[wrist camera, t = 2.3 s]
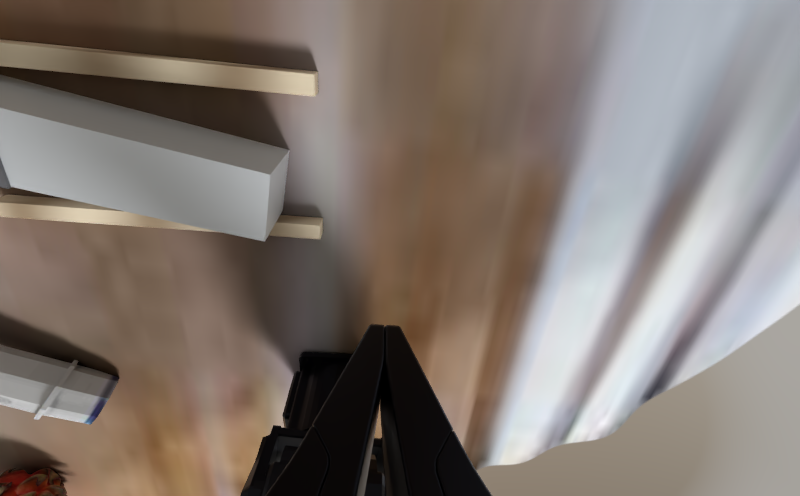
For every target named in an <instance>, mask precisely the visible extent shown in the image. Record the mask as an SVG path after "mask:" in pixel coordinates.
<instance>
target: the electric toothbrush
mask: <svg viewBox="0 0 800 496" xmlns="http://www.w3.org/2000/svg"><path fill="white" fill-rule="evenodd" d="M78 362H79V361H77V360H74V361H73V362H72V363H68V362H64V361H60V360H57V359H53V358H49V357H45V356H41V355H38V354H34V353H30V352H26V351H22V350H18V349H15V348H11V347H7V346H3V345H0V405H4V406H8V407H12V408H16V409H20V410H24V411H28V412H32V413H35V414H37V415H36V416H35V418H34V419H37V420H39V419H40V417H41V416H42V415H45V416H50V417H55V418H60V419H65V420H70V421H76V422H81V423H86V424H92V422H93V421H94V420H95V419H96V418H97V416H98V415H99V413H100V412H101V410H102V409H103V407H104V406H105V404H106V402H107V401H108V399H109V398H110V396H111V394H112V392H113V390H114V388H115V387H116V385H117V383H118V380H119V377H116V376H113V375H110V374H107V373H104V372H101V371H98V370H94V369H91V368H87V367H83V366H79V365H77V363H78Z"/></svg>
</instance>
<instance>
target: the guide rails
mask: <svg viewBox="0 0 800 496" xmlns="http://www.w3.org/2000/svg"><path fill="white" fill-rule="evenodd" d="M0 66H5V67H16V68H26V69H36V70H47V71H57V72H67V73H77V74H88V75H98V76H108V77H119V78H129V79H139V80H150V81H160V82H170V83H180V84H191V85H201V86H211V87H222V88H232V89H242V90H253V91H263V92H273V93H284V94H294V95H304V96H314V97H315V96H316V95H317V94H318V72H316V71H307V70H297V69H287V68H277V67H267V66H257V65H248V64H238V63H228V62H218V61H208V60H198V59H189V58H179V57H169V56H159V55H149V54H139V53H130V52H120V51H110V50H100V49H90V48H80V47H71V46H61V45H51V44H41V43H31V42H22V41H12V40H2V39H0ZM0 216H1V217H11V218H25V219H39V220H53V221H68V222H82V223H96V224H110V225H124V226H138V227H153V228H167V229H181V230H195V231H209V232H218V231H213V230H208V229H204V228H199V227H195V226H190V225H185V224H181V223H176V222H171V221H167V220H162V219H158V218H153V217H148V216H144V215H139V214H134V213H130V212H125V211H121V210H116V209H111V208H107V207H102V206H97V205H93V204H88V203H84V202H79V201H74V200H70V199H62V198H49V197H35V196H22V195H8V194H7V195H5V196H3V197H1V198H0ZM322 233H323V218H317V217H303V216H290V215H280V216H279V218H278V220H277V221H276V223H275V225H274V227H273V228H272V230H271V232H270V234H269V235H268V236H280V237H294V238H308V239H321V236H322Z"/></svg>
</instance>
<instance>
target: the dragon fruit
mask: <svg viewBox="0 0 800 496" xmlns="http://www.w3.org/2000/svg"><path fill="white" fill-rule="evenodd" d="M13 469H17V468H12V469H10V470H7V471H6V472H4V473H3V474H2V475H0V496H67V495H66V494H67V492H66V489H65V488H64V484H63V483H62V482H61V479H60V477H59V475H58V474H57V473H55V472H54V471H53V470H52V469H50V468H44V469H40V470H38V471H36V472H34V473H33V474H31V475H30V474H27V473H26V471H25V470H14V471H12V470H13Z"/></svg>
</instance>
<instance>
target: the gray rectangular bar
mask: <svg viewBox="0 0 800 496" xmlns="http://www.w3.org/2000/svg"><path fill="white" fill-rule="evenodd" d="M288 159H289V150H288V149H284V148H280V147H276V146H272V145H268V144H265V143H261V142H257V141H253V140H249V139H245V138H242V137H238V136H234V135H230V134H226V133H222V132H219V131H215V130H211V129H207V128H203V127H200V126H196V125H192V124H188V123H184V122H180V121H177V120H173V119H169V118H165V117H161V116H157V115H154V114H150V113H146V112H142V111H138V110H134V109H131V108H127V107H123V106H119V105H115V104H112V103H108V102H104V101H100V100H96V99H92V98H89V97H85V96H81V95H77V94H73V93H69V92H66V91H62V90H58V89H54V88H50V87H46V86H43V85H39V84H35V83H31V82H27V81H24V80H20V79H16V78H12V77H8V76H4V75H1V74H0V187H2V188H6V189H10V188H12V187H14V188H19V189H24V190H28V191H33V192H37V193H42V194H47V195H51V196H56V197H60V198H65V199H70V200H74V201H79V202H84V203H88V204H93V205H97V206H102V207H107V208H111V209H116V210H121V211H125V212H130V213H134V214H139V215H144V216H148V217H153V218H158V219H162V220H167V221H171V222H176V223H181V224H185V225H190V226H195V227H199V228H204V229H208V230H213V231H218V232H222V233H227V234H232V235H236V236H241V237H245V238H250V239H255V240H259V241H264V242H265V241H266V239H267V237H268V235H269V234H270V232H271V230H272V228H273V227H274V225H275V223H276V221H277V220H278V218H279V216H280V214H281V213H282V211H283V205H284V196H285V187H286V177H287V168H288Z"/></svg>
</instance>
